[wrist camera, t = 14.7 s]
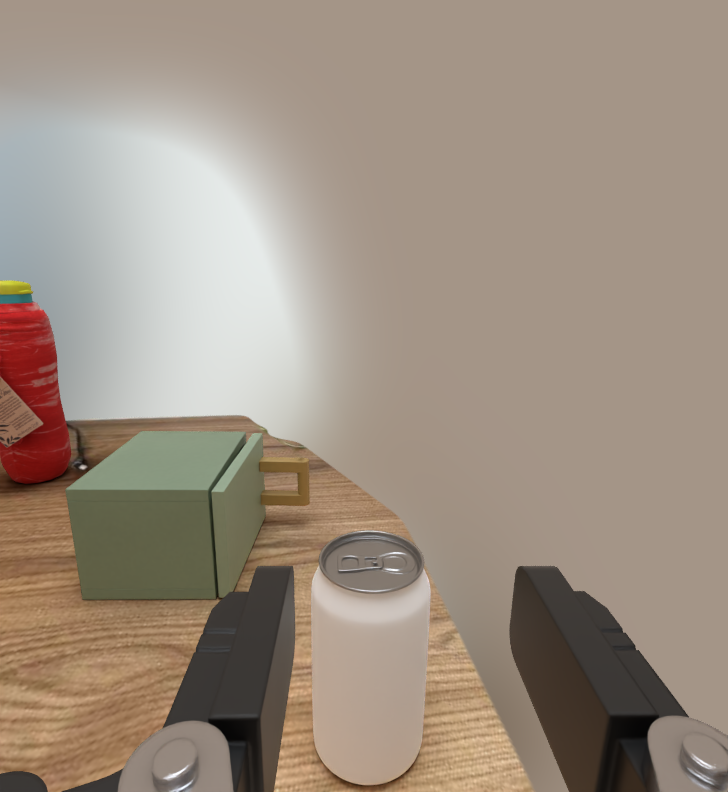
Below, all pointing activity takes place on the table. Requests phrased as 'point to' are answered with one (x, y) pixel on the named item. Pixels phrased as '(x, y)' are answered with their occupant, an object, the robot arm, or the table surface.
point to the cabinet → (151, 517)
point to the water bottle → (29, 391)
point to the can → (369, 655)
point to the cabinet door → (249, 506)
